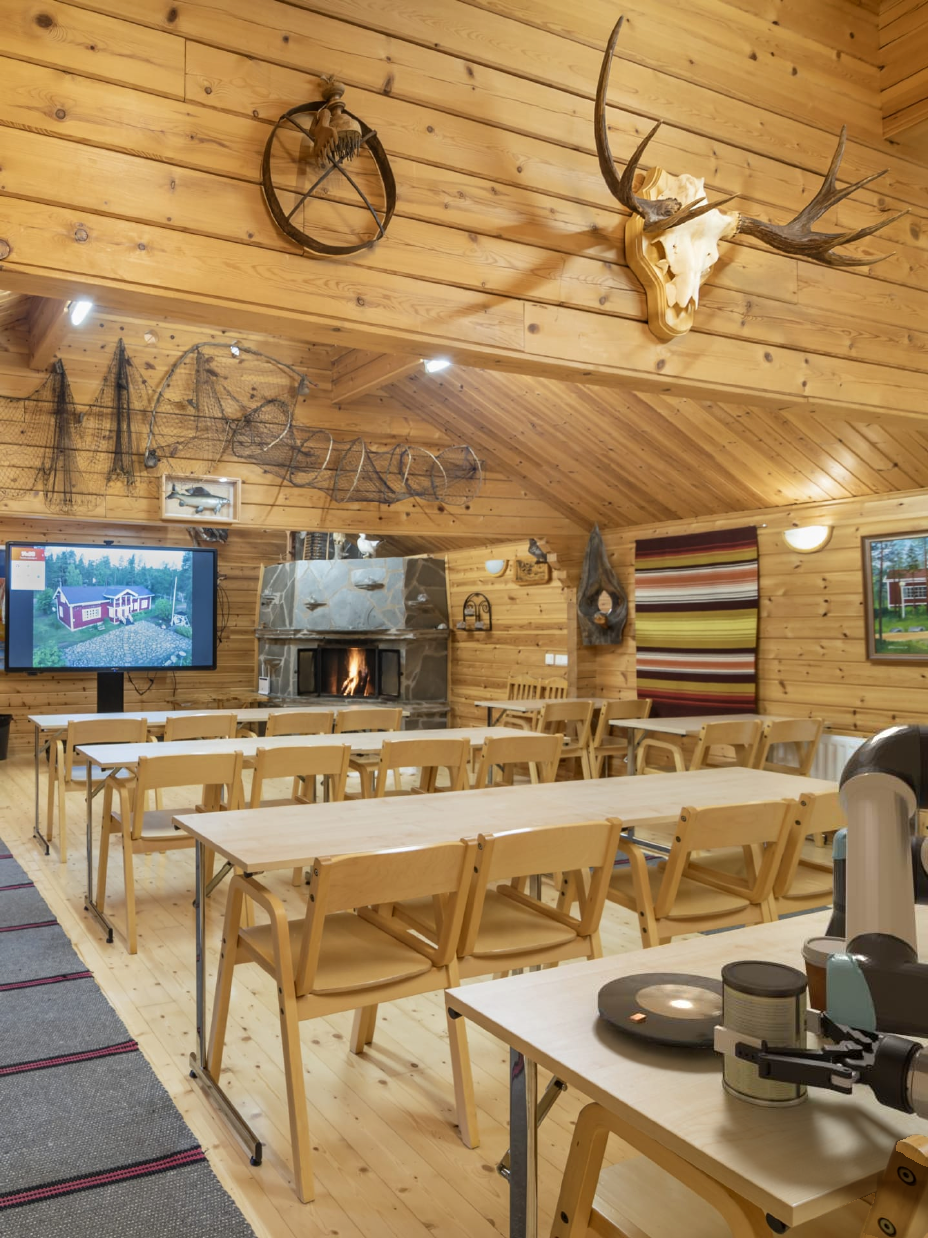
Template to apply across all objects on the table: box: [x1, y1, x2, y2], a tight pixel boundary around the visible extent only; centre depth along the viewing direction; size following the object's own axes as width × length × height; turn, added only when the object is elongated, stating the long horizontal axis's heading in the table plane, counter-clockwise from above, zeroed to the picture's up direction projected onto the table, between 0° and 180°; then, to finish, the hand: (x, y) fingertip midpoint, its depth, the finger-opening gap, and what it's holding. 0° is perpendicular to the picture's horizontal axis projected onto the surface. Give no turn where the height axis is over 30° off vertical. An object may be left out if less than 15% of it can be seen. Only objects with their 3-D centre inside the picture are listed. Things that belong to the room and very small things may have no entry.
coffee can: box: [720, 959, 809, 1108], centre depth 117 cm, size 10×10×14 cm
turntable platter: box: [597, 972, 723, 1049], centre depth 136 cm, size 24×24×2 cm
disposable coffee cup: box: [800, 935, 846, 1035], centre depth 135 cm, size 10×10×12 cm
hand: (744, 1022), depth 119 cm, fingers open, 13 cm apart
